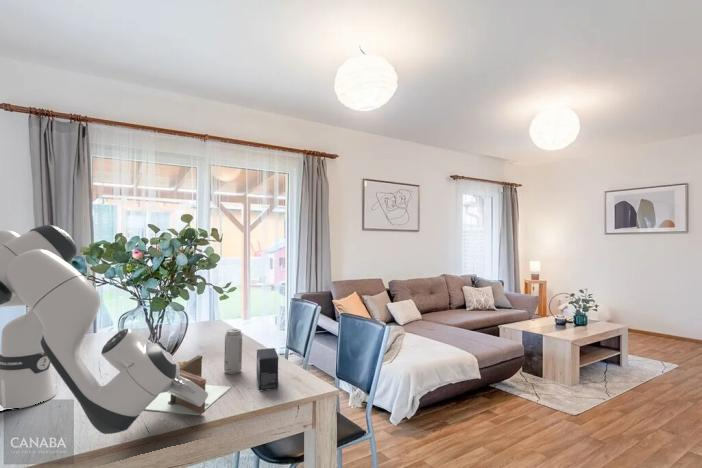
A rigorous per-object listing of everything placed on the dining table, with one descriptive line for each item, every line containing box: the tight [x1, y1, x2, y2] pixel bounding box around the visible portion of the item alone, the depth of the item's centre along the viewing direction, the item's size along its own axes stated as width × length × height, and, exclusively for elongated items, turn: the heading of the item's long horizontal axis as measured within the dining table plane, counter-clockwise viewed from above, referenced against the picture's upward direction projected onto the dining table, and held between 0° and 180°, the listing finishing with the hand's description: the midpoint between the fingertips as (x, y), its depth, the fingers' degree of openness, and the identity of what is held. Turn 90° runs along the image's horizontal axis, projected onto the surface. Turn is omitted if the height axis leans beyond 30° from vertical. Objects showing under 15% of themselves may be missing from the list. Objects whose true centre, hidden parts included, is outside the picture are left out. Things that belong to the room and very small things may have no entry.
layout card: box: [143, 384, 232, 416], centre depth 114 cm, size 23×19×1 cm
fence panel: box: [175, 370, 207, 415], centre depth 106 cm, size 2×12×9 cm, turn 57°
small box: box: [256, 347, 279, 391], centre depth 126 cm, size 11×6×10 cm, turn 19°
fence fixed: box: [170, 355, 203, 403], centre depth 116 cm, size 2×14×10 cm, turn 171°
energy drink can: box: [223, 328, 243, 375], centre depth 136 cm, size 6×6×15 cm
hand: (194, 399), depth 103 cm, fingers closed, pressing on fence panel
